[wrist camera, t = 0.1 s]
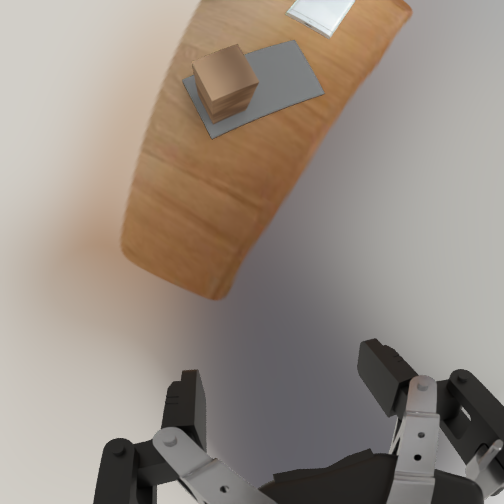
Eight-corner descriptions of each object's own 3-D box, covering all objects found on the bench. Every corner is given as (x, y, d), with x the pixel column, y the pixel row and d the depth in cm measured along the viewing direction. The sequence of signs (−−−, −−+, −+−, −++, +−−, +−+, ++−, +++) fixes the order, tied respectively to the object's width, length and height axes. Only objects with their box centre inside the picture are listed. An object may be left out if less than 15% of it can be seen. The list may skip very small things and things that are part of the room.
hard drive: (316, -23, 29) (286, 11, 31) (356, 0, 31) (331, 36, 33) (313, -19, 31) (284, 16, 33) (352, 3, 33) (327, 40, 35)
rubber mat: (211, 139, 37) (211, 138, 36) (182, 81, 34) (182, 80, 33) (322, 94, 37) (324, 93, 36) (293, 41, 34) (294, 39, 33)
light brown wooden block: (213, 124, 35) (212, 101, 24) (197, 94, 34) (191, 61, 22) (246, 109, 35) (259, 81, 24) (230, 80, 34) (237, 43, 22)
